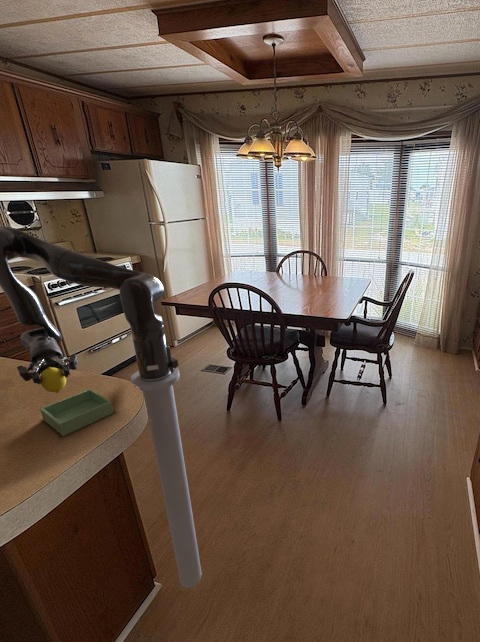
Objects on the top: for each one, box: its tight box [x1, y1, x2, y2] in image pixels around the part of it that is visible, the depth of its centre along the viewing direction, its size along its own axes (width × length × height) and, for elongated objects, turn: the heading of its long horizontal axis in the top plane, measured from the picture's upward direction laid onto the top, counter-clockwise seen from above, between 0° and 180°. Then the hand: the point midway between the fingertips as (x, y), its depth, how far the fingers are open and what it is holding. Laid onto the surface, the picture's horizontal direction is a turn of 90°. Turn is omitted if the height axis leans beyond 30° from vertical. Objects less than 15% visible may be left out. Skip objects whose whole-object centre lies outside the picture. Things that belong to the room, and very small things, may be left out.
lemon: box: [40, 367, 67, 394], centre depth 95 cm, size 6×6×8 cm
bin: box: [39, 388, 115, 437], centre depth 91 cm, size 12×11×4 cm
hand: (52, 377), depth 92 cm, fingers closed on lemon, 5 cm apart
